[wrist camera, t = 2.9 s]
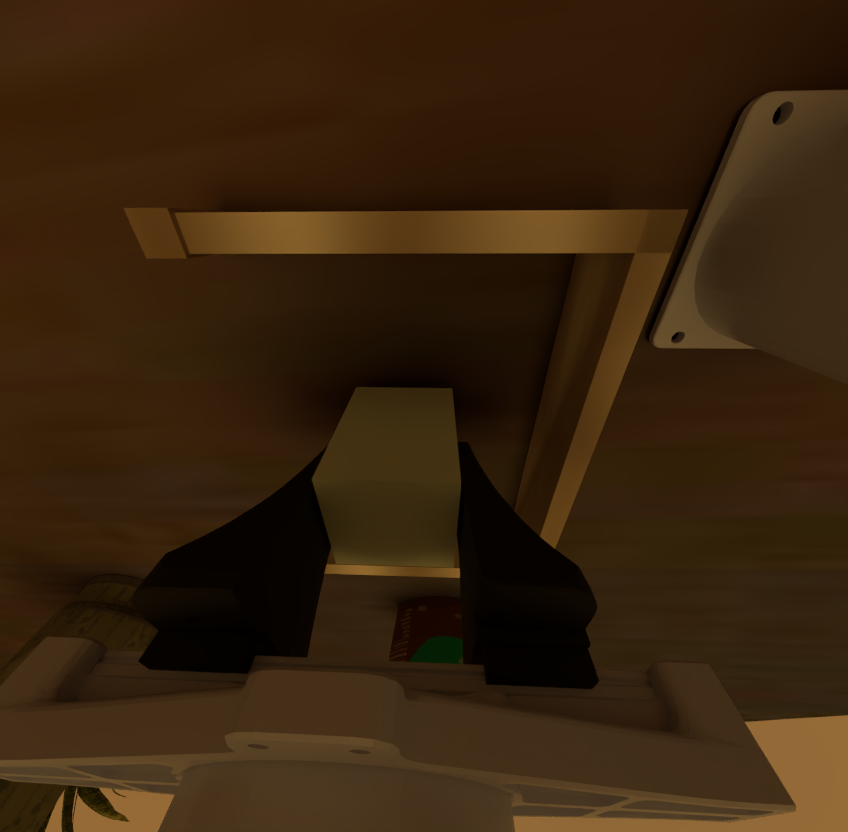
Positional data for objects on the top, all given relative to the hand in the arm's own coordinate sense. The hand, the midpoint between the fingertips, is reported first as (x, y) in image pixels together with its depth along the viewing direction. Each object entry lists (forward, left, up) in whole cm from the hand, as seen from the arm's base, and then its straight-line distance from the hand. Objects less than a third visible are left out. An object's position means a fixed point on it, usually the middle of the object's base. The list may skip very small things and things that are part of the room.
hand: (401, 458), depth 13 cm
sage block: (0, 0, -2) cm, 2 cm away
